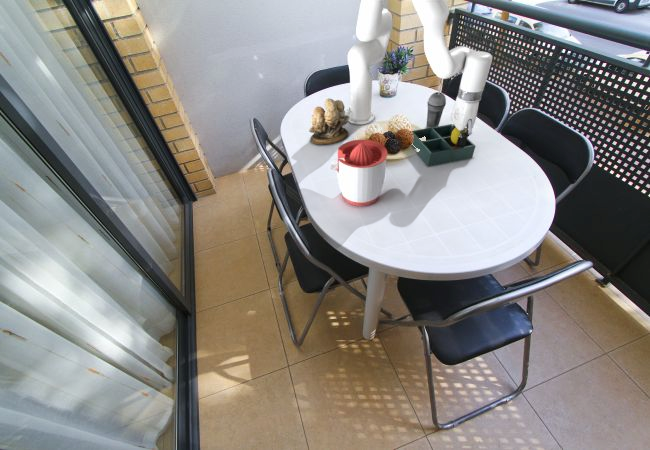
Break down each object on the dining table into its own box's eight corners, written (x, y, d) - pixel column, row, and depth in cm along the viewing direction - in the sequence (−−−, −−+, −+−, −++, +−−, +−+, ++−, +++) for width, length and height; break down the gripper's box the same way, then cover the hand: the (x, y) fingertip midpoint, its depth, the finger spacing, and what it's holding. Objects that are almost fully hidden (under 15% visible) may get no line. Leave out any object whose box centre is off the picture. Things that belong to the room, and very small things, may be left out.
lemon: (456, 150, 117) (461, 130, 111) (445, 143, 120) (450, 124, 115) (467, 146, 118) (473, 126, 113) (456, 139, 122) (461, 120, 116)
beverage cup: (439, 124, 138) (448, 77, 124) (441, 133, 133) (452, 84, 119) (422, 125, 139) (429, 78, 125) (424, 133, 134) (432, 85, 120)
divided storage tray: (428, 166, 117) (430, 154, 113) (408, 142, 130) (410, 131, 126) (471, 158, 119) (475, 145, 115) (448, 135, 132) (451, 123, 128)
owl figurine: (342, 126, 143) (341, 88, 131) (355, 137, 135) (355, 98, 123) (306, 136, 138) (301, 98, 126) (317, 149, 131) (313, 109, 119)
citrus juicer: (332, 182, 114) (330, 131, 100) (381, 181, 113) (385, 129, 98) (332, 211, 103) (329, 159, 89) (386, 210, 101) (391, 156, 87)
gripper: (450, 84, 112) (440, 131, 124) (468, 105, 99) (455, 155, 112) (471, 83, 112) (459, 130, 124) (492, 103, 99) (476, 153, 112)
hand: (457, 141), depth 118 cm, fingers closed on lemon, 5 cm apart
